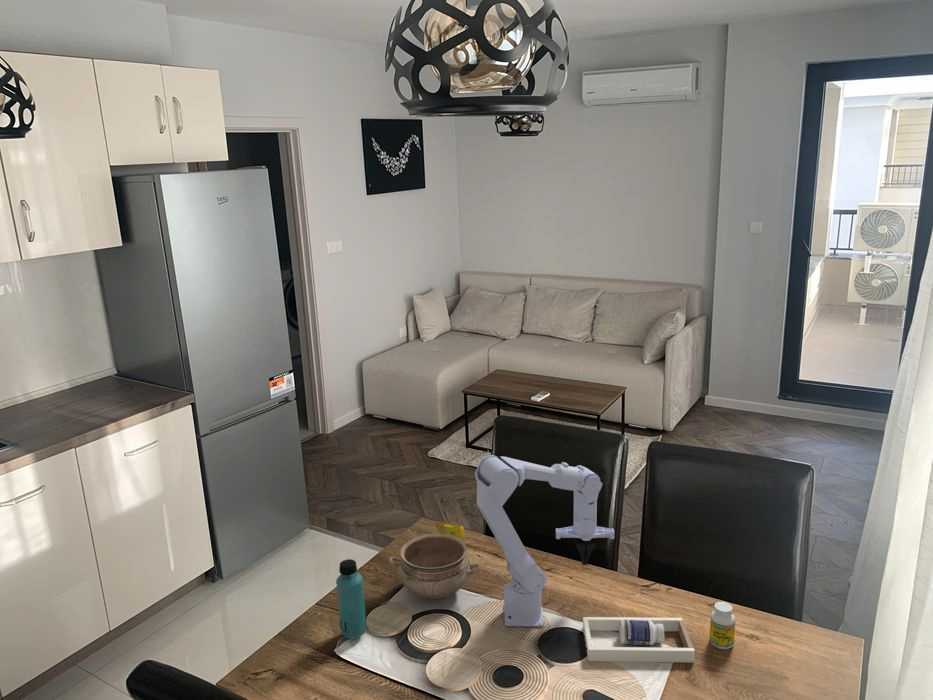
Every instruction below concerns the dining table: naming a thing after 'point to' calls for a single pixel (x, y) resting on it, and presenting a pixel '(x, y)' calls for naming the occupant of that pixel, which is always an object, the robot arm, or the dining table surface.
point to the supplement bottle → (722, 626)
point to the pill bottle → (640, 632)
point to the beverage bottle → (351, 600)
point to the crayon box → (451, 529)
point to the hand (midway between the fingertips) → (584, 562)
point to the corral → (637, 652)
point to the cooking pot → (434, 565)
